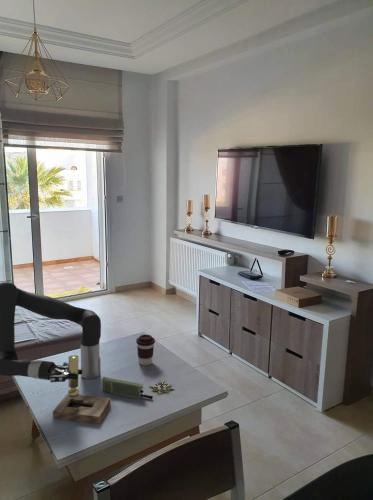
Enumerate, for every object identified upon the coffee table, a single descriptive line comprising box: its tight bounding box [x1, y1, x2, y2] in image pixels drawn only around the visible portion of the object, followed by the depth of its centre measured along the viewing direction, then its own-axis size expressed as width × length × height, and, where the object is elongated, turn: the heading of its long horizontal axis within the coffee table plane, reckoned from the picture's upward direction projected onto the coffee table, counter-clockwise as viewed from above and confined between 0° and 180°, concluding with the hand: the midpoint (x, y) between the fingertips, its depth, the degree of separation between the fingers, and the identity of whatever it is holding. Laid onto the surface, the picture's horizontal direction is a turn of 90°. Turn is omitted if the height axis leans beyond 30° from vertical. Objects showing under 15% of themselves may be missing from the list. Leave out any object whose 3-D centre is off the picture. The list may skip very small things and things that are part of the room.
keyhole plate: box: [52, 392, 111, 425], centre depth 172 cm, size 20×14×3 cm
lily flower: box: [150, 379, 171, 395], centre depth 193 cm, size 12×12×5 cm
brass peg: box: [67, 354, 80, 397], centre depth 170 cm, size 4×4×17 cm
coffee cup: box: [135, 334, 156, 366], centre depth 217 cm, size 10×10×15 cm
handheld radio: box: [101, 376, 154, 400], centre depth 186 cm, size 7×3×25 cm
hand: (79, 374), depth 169 cm, fingers closed on brass peg, 4 cm apart
